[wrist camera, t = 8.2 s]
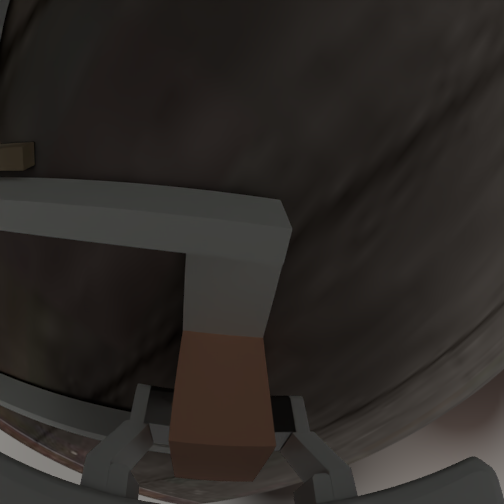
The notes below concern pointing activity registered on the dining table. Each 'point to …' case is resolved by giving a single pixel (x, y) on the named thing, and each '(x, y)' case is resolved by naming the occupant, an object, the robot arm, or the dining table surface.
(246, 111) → the dining table surface
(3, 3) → the inner strip
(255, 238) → the grey rectangular frame
